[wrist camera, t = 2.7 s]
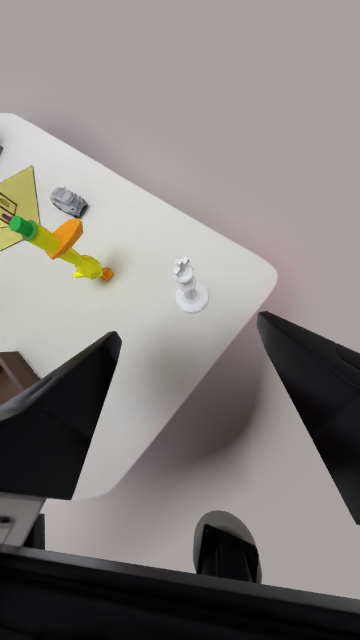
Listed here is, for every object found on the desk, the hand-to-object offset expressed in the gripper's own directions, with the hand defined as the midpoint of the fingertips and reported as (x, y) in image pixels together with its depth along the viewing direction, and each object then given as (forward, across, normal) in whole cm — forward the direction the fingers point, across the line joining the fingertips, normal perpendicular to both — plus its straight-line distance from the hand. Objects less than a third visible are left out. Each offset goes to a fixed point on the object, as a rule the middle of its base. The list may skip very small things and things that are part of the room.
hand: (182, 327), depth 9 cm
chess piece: (+12, 0, +5) cm, 13 cm away
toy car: (+28, +21, -11) cm, 37 cm away
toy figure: (+17, +14, 0) cm, 22 cm away
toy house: (+31, +39, -14) cm, 52 cm away
